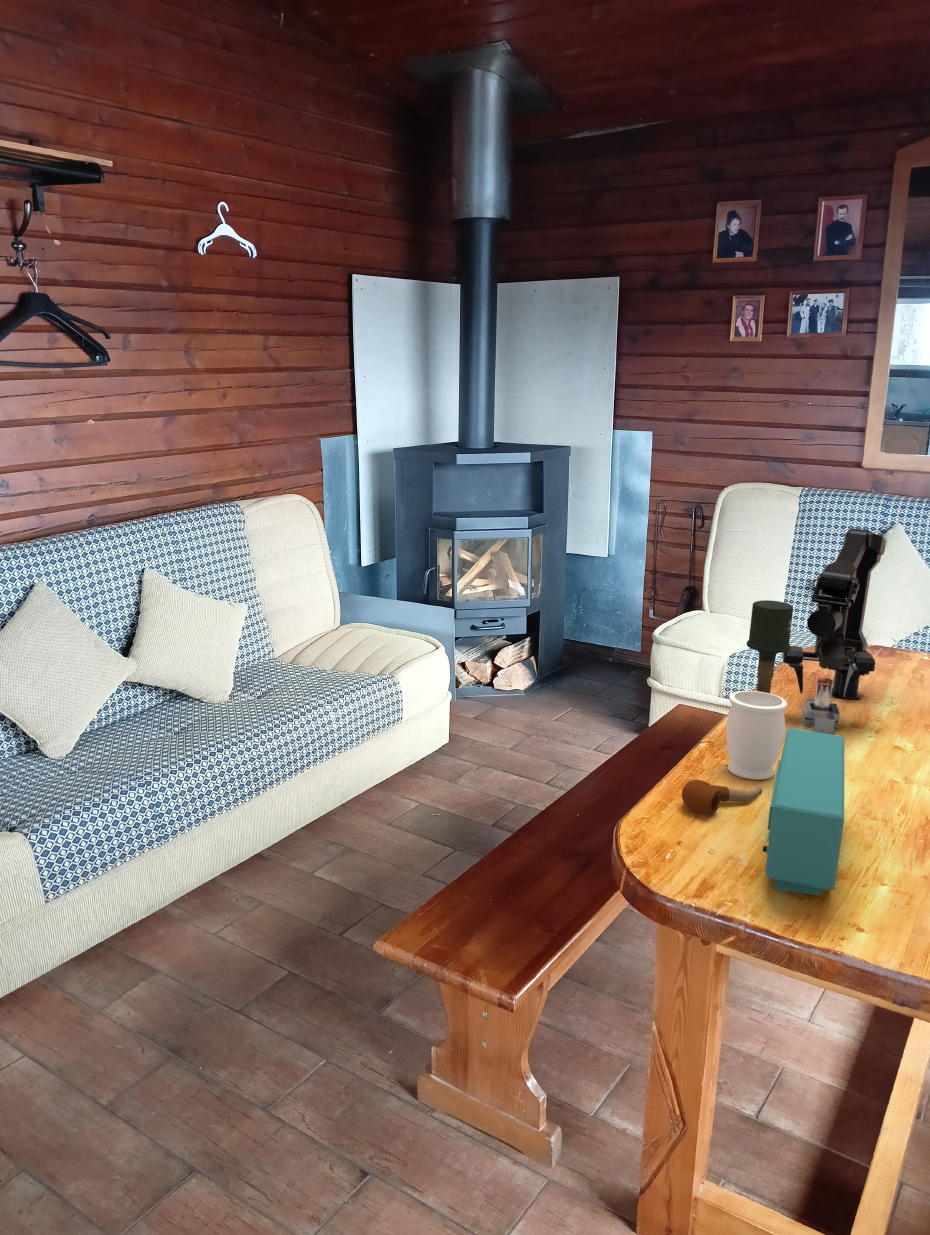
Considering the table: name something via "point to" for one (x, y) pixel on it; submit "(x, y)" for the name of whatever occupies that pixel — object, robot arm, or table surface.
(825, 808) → the radio
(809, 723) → the lower strap
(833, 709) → the strap
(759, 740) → the jar
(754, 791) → the smoking pipe
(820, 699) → the link pin
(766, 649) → the potato masher grenade
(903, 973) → the table surface
